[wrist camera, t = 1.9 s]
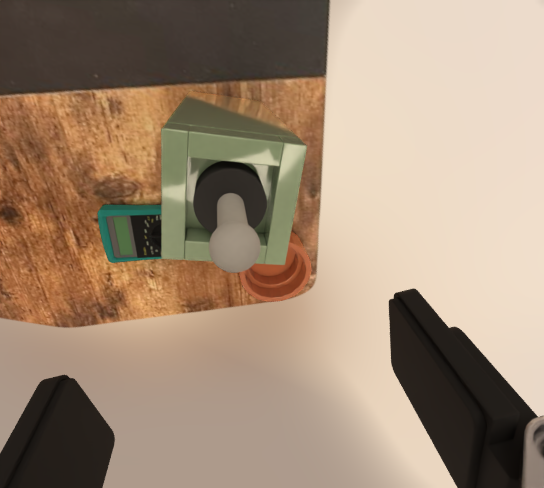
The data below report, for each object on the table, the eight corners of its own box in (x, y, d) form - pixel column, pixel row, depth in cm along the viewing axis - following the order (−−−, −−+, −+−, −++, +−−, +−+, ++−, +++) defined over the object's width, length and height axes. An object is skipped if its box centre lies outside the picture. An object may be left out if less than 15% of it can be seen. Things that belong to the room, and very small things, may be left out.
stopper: (193, 222, 23) (183, 299, 16) (196, 156, 21) (185, 209, 14) (258, 226, 24) (277, 302, 17) (267, 163, 22) (293, 217, 15)
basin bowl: (234, 280, 51) (236, 301, 46) (241, 221, 46) (244, 238, 42) (296, 282, 53) (303, 302, 48) (308, 226, 48) (317, 242, 44)
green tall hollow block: (187, 162, 42) (161, 259, 22) (189, 90, 38) (160, 128, 18) (252, 169, 43) (284, 265, 23) (261, 100, 40) (307, 145, 20)
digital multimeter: (224, 249, 48) (224, 260, 46) (111, 254, 46) (105, 266, 43) (222, 199, 45) (222, 208, 42) (100, 202, 43) (93, 211, 40)
